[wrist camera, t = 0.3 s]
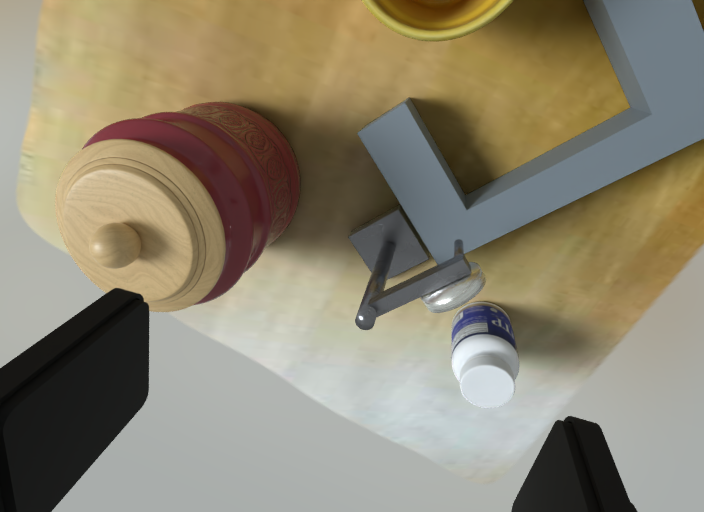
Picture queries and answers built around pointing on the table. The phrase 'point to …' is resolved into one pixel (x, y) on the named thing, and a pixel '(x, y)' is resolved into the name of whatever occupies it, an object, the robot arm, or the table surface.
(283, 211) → the canister
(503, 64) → the table surface
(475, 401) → the pill bottle
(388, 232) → the stand
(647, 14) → the bar
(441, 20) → the plant pot
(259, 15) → the table surface
